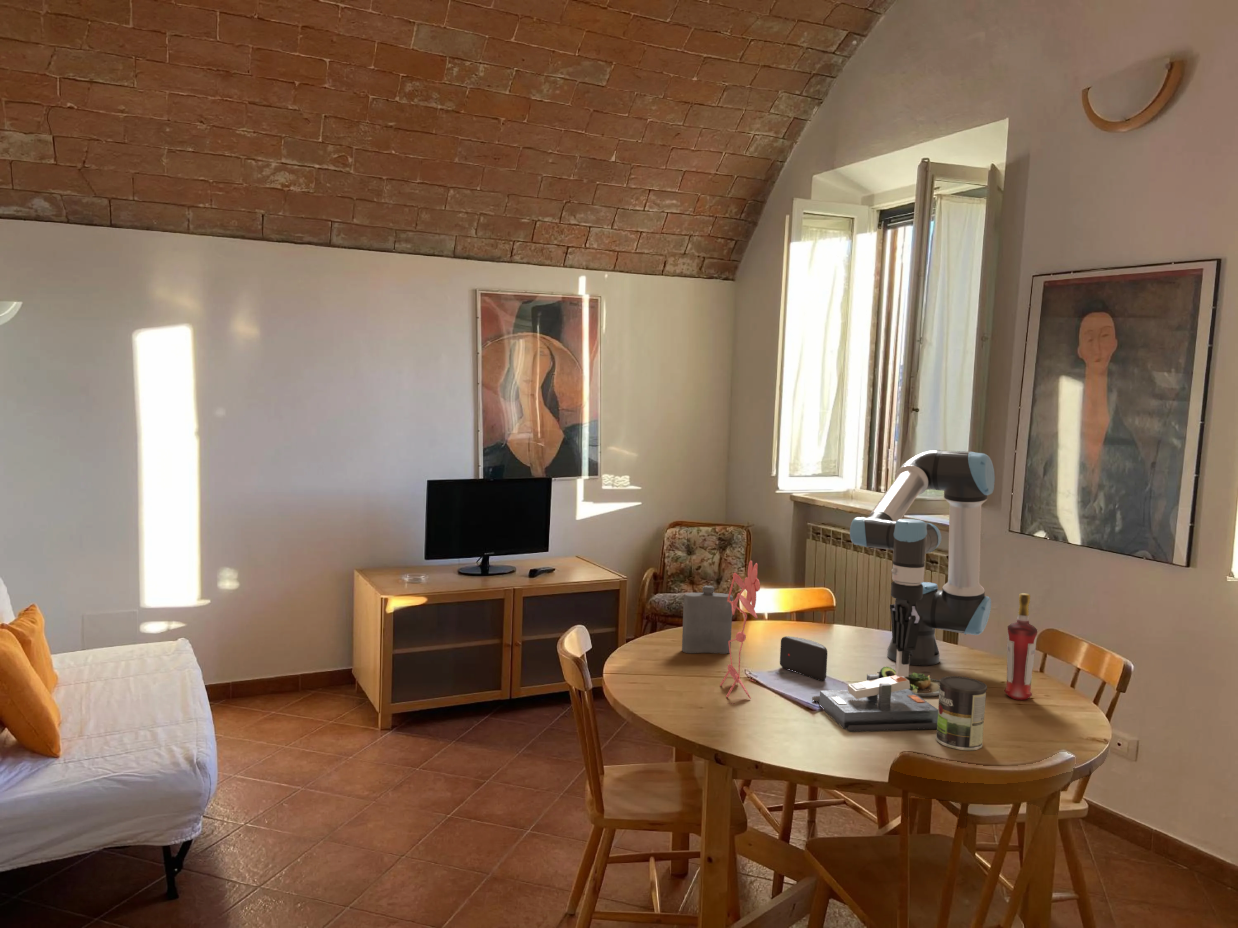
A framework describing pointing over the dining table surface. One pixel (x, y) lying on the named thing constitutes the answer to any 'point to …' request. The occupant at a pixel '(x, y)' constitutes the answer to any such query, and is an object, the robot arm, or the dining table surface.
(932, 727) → the rods
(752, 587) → the figurine
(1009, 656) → the liquor
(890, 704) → the lever switch plate
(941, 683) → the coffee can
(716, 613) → the flask
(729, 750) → the dining table surface
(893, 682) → the rocker
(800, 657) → the black rounded flat block
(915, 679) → the salad plate
